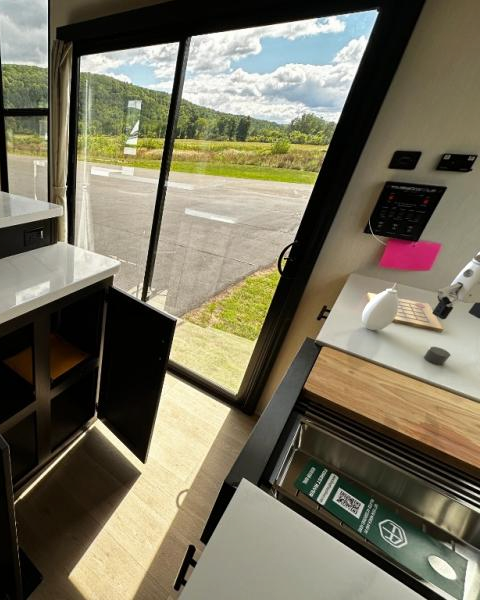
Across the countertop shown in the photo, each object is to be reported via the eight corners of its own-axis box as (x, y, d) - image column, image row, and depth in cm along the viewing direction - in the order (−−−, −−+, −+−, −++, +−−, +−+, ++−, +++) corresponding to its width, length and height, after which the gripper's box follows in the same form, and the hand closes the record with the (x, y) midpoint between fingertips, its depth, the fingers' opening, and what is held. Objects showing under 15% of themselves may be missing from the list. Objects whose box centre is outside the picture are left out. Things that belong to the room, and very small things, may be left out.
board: (426, 306, 119) (428, 303, 118) (441, 332, 106) (443, 329, 106) (366, 295, 127) (368, 292, 127) (373, 317, 114) (375, 314, 114)
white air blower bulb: (357, 331, 108) (382, 285, 98) (354, 319, 114) (378, 275, 104) (387, 338, 105) (416, 291, 95) (382, 325, 110) (409, 280, 101)
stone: (441, 358, 96) (447, 349, 94) (445, 367, 93) (452, 358, 91) (421, 353, 98) (427, 345, 96) (425, 362, 95) (432, 353, 93)
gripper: (478, 266, 74) (437, 325, 83) (554, 264, 74) (504, 323, 83) (447, 253, 81) (411, 309, 90) (517, 251, 80) (474, 308, 89)
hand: (456, 316), depth 86 cm, fingers open, 9 cm apart
